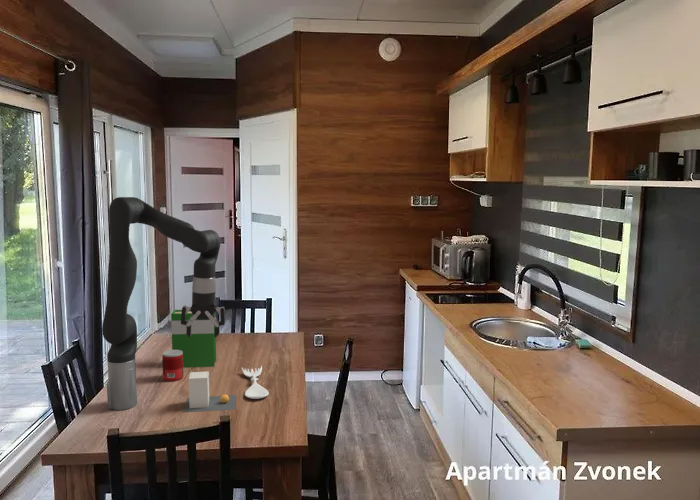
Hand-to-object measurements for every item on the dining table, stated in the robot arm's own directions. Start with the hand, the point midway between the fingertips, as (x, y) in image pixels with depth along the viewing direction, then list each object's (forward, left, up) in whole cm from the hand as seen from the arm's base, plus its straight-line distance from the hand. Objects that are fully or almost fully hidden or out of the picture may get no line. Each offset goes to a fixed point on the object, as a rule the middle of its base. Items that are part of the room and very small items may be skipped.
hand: (202, 336), depth 184 cm
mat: (+1, +11, -29) cm, 31 cm away
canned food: (-16, +40, -29) cm, 51 cm away
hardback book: (-9, +56, -29) cm, 63 cm away
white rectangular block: (-3, +11, -28) cm, 30 cm away
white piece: (+17, +26, -29) cm, 43 cm away
